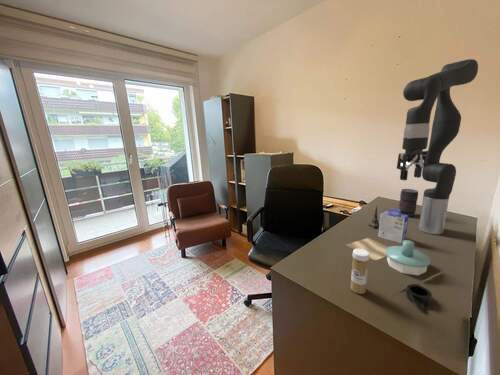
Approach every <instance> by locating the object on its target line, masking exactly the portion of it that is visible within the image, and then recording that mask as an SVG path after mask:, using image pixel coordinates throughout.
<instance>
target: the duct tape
mask: <svg viewBox="0 0 500 375" xmlns="http://www.w3.org/2000/svg"><path fill="white" fill-rule="evenodd" d="M405 292H406V293H405V296H406V299H407V300H408V301H410V303H411V302H412V303H413V304H415V306H416V307H417V308H419V309H422V310H426V308H425V307H428V306H430V305H431V303H432V297H433V295H432V292H431V291H430V290H429V289H427V288H426V287H424V286H422V285H421V284H418V283H413V284H408V285H407V286H406V290H405Z"/></svg>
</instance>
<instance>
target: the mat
mask: <svg viewBox="0 0 500 375" xmlns="http://www.w3.org/2000/svg"><path fill="white" fill-rule="evenodd" d="M346 246H347V247H349V248H350V249H352V250H354V249H364V250H366V251H368V252H369V259H371V260H372V261H378V260H381V259H383V258H387V255H386V249H387V248H388V247H389V246H388V245H385V244H383V243H380V242H378V241H376V240H374V239H372V238H370V237H366V238H363V239H360V240H357V241H353V242H351V243H347V244H346Z"/></svg>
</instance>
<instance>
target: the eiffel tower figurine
mask: <svg viewBox="0 0 500 375" xmlns="http://www.w3.org/2000/svg"><path fill="white" fill-rule="evenodd" d="M373 215H374V216H373V217H372V218H373V219H372V220H371V221H370V223H369V224H368V225H367V226H369V227H371V225H372V229H373V230H375V229H376V227H378V228H379V224H380V222H379V220H378V205H376V206H375V212H374V214H373Z"/></svg>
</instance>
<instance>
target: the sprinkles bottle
mask: <svg viewBox="0 0 500 375" xmlns="http://www.w3.org/2000/svg"><path fill="white" fill-rule="evenodd" d="M352 250H353V251H352V263H351V264H352V265H351V267H352V268H351V275H350V276H351V277H350V279H351V280H350V286H349V287H350V290H351V291H352V292H354V293H355V294H358V295H359V294H361V295H363V294H365V293H366V292H367V291H366V290H367V289H366V288H367V281H368V269H369V260H370V258H369V252H368V251H366V250H364V249H352Z"/></svg>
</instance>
